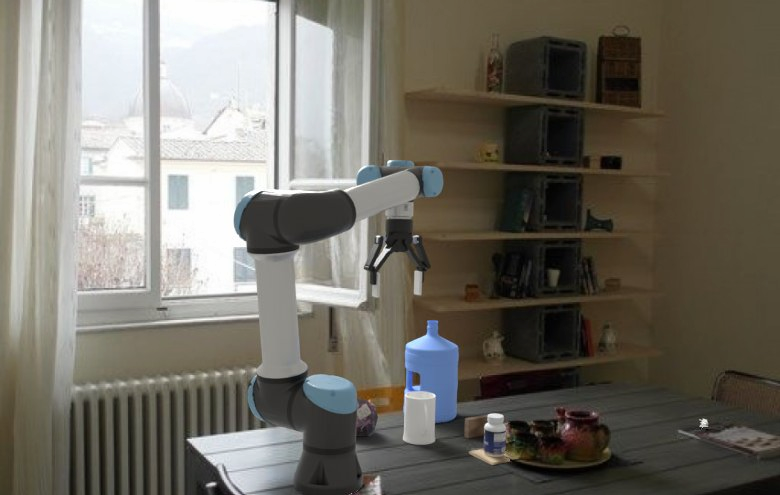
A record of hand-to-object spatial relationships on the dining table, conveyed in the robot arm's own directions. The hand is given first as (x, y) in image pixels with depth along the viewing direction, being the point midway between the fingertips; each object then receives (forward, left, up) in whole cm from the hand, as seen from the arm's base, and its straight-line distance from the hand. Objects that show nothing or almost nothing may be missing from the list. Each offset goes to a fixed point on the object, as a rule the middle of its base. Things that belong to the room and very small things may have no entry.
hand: (397, 295), depth 208 cm
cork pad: (+10, -31, -37) cm, 49 cm away
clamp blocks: (+17, -20, -37) cm, 45 cm away
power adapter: (+78, -41, -37) cm, 96 cm away
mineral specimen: (-11, 0, -37) cm, 39 cm away
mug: (0, -13, -37) cm, 39 cm away
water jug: (+16, +5, -37) cm, 41 cm away
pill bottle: (+10, -31, -36) cm, 49 cm away
